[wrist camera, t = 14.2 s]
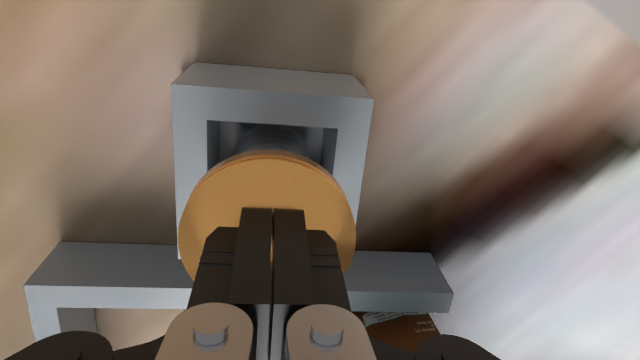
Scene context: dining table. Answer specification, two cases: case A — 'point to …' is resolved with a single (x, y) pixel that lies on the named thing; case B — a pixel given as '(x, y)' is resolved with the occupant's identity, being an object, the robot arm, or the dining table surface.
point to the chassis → (203, 154)
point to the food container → (398, 327)
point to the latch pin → (266, 193)
